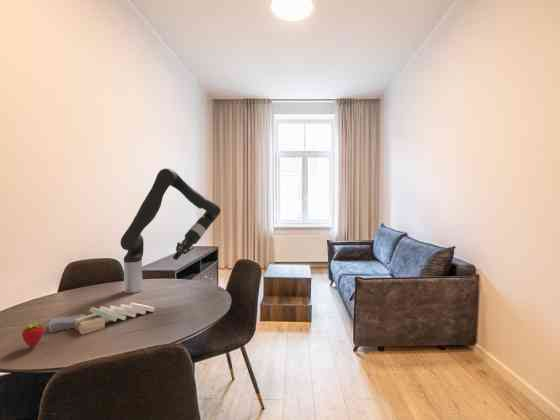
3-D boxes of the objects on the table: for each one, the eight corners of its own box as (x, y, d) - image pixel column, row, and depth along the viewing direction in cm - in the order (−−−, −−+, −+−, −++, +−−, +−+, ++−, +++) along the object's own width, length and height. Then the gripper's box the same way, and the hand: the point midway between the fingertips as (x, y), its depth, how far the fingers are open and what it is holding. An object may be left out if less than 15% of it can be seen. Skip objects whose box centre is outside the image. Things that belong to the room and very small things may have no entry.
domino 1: (115, 321, 125) (93, 313, 119) (110, 318, 128) (89, 310, 122) (117, 318, 126) (96, 309, 120) (112, 315, 129) (91, 306, 123)
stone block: (51, 329, 124) (47, 333, 116) (52, 317, 125) (48, 320, 116) (85, 324, 130) (84, 328, 121) (86, 313, 131) (84, 316, 122)
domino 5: (153, 311, 138) (133, 308, 131) (148, 309, 141) (128, 305, 134) (155, 308, 138) (135, 304, 131) (149, 306, 142) (130, 302, 135)
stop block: (75, 328, 120) (75, 318, 120) (97, 322, 126) (97, 313, 126) (82, 334, 115) (81, 324, 115) (104, 327, 121) (104, 317, 121)
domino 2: (124, 320, 128) (103, 312, 122) (119, 317, 131) (98, 309, 125) (126, 316, 129) (105, 308, 122) (121, 314, 132) (101, 305, 126)
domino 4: (144, 314, 135) (123, 310, 128) (139, 311, 138) (119, 307, 131) (146, 310, 135) (125, 306, 128) (141, 308, 139) (120, 303, 132)
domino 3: (134, 317, 131) (113, 311, 125) (129, 314, 135) (108, 308, 128) (136, 313, 132) (115, 307, 125) (131, 311, 135) (110, 305, 128)
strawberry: (44, 341, 109) (44, 314, 109) (43, 349, 103) (43, 320, 103) (23, 345, 106) (22, 317, 106) (21, 354, 100) (20, 324, 99)
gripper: (184, 228, 164) (163, 252, 155) (198, 229, 156) (176, 256, 147) (192, 236, 168) (172, 261, 159) (206, 239, 160) (186, 265, 151)
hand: (174, 258), depth 153 cm, fingers closed
